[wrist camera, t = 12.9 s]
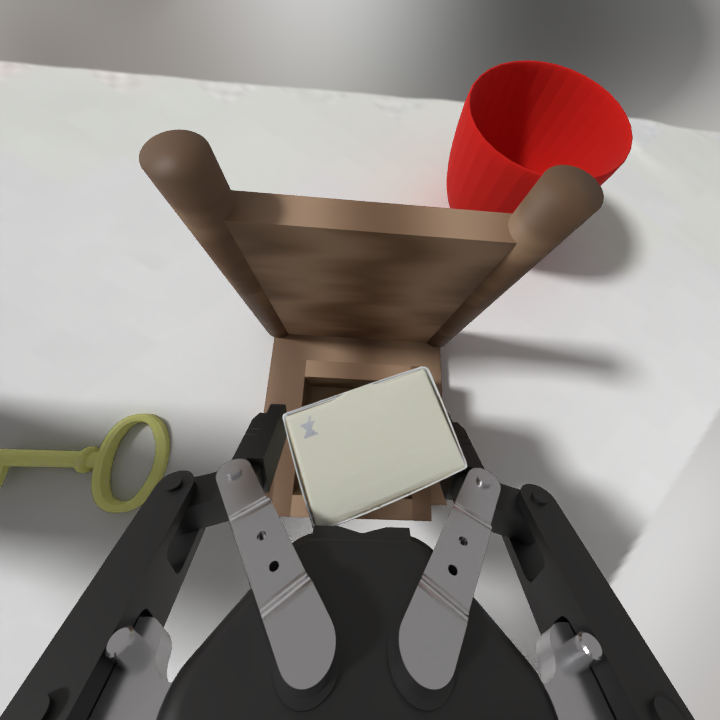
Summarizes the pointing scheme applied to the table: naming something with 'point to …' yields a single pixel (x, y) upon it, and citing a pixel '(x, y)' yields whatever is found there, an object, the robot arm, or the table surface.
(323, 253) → the headboard stand
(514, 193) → the ceramic cup
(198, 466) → the table surface
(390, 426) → the skincare box
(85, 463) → the key
